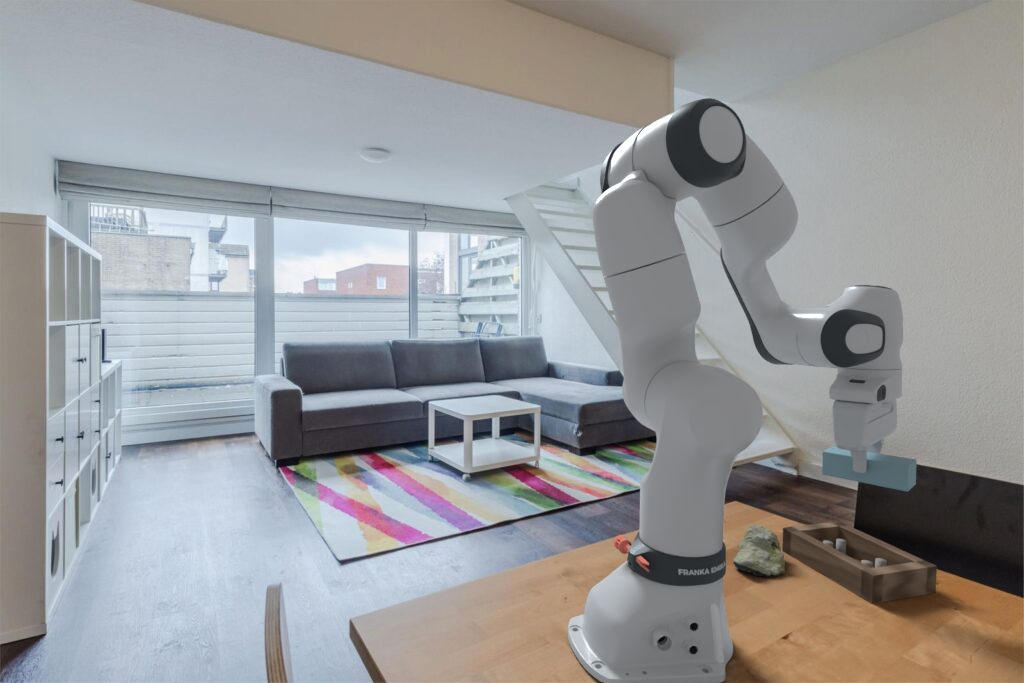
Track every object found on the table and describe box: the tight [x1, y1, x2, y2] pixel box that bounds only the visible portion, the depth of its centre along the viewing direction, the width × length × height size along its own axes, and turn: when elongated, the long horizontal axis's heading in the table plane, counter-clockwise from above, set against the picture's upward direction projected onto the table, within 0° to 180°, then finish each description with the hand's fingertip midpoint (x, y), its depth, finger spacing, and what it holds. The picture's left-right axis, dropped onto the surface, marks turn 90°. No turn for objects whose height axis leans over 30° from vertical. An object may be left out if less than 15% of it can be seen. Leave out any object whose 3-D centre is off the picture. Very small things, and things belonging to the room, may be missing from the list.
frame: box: [781, 520, 938, 604], centre depth 94 cm, size 13×19×4 cm
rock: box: [732, 523, 786, 578], centre depth 96 cm, size 11×6×10 cm
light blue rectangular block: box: [821, 445, 917, 492], centre depth 88 cm, size 12×5×4 cm, turn 41°
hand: (866, 467), depth 88 cm, fingers closed on light blue rectangular block, 5 cm apart
